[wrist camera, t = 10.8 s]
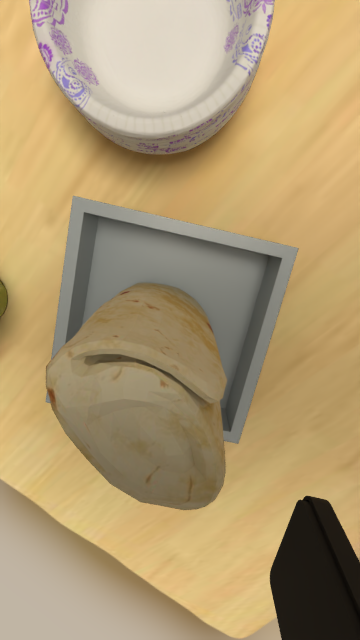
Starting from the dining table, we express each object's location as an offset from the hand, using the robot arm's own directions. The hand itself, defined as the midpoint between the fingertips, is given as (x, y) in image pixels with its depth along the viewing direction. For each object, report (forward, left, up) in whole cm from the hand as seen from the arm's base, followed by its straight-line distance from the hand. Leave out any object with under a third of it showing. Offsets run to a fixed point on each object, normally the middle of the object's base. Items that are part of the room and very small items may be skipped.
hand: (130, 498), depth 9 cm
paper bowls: (+6, -21, -24) cm, 32 cm away
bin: (+1, 0, -23) cm, 23 cm away
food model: (0, 0, -23) cm, 23 cm away
